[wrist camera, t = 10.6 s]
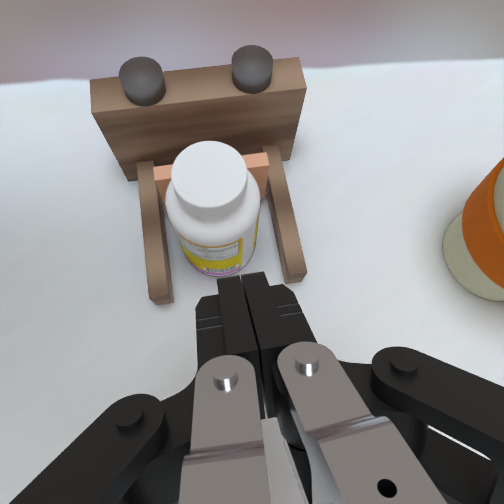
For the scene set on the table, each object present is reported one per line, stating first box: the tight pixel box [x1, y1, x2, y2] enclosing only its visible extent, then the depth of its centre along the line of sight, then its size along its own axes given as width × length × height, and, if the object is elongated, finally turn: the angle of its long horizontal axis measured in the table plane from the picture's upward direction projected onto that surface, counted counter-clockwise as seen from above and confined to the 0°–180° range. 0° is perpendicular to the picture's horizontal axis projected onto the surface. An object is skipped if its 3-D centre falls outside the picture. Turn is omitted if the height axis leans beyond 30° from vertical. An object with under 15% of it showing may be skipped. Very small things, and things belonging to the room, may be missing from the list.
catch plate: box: [153, 152, 269, 207], centre depth 33 cm, size 1×9×6 cm, turn 100°
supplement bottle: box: [165, 141, 260, 276], centre depth 29 cm, size 7×7×13 cm
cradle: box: [90, 45, 307, 305], centre depth 31 cm, size 16×16×12 cm
